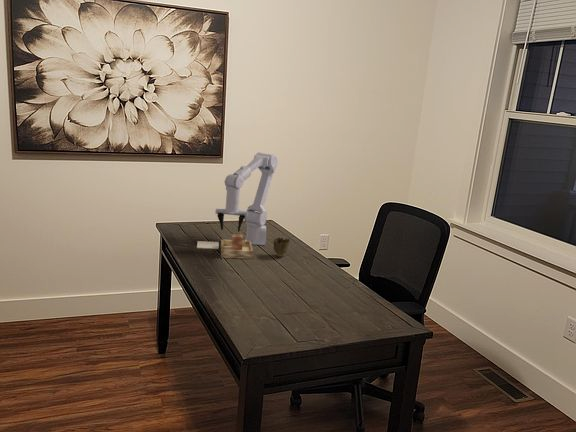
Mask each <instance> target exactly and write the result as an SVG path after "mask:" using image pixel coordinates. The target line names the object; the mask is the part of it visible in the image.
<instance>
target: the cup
mask: <svg viewBox="0 0 576 432" xmlns="http://www.w3.org/2000/svg"><path fill="white" fill-rule="evenodd" d="M289 246H290V238H289V239H288V238H285V239H284V238H283V237H275V238H273V250H274V252H275V253H276V256H277V257H278V258H284V257H285V254H286V253H287V252H288V250H289Z"/></svg>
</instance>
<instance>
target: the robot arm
mask: <svg viewBox="0 0 576 432" xmlns="http://www.w3.org/2000/svg"><path fill="white" fill-rule="evenodd" d="M278 163H279V162H278V158H277V156H276V155H275V154H270V153H263V152H261V151H260V152H257V153H255V154H254V157H253V159H252V160H251V161H250V162H249V163H248V164H247V165H242V166H241V165H240V168H239V169H237V170H236V171H235V172H233V174H228V175H227V176H226V177H225V180H224V185H225V190H226V197H225V201H226V202H225V208H216V209H215V212H214V213H215V215H216V214H217V219H218V221H219V224H220V225H219V226H220V230H221V231H223V230H224V219H225V215H229V216H237V217H238V226H237V232H239V233H240V230H241V227H242V224H243V222H245V224H246V226H247V227H246V238H245V239H244V241H251V243H252V245H254V246H255V245H258V246H259V245H260V246H265V245H266V240H267V226H266V225H265V224H266V222H267V215H268V211H267V210H266V208H265V203H266V201H267V196H268V193H269V190H270V185H271V182H272V179H273V175H274V173H276V168H277V165H278ZM256 169H258V170H259V172H261V177H260V179H259V183H258V187H257V190H256V192H255V193H256V194H255V197H254V200H253V203H252V204H251V205H249V206H248V207H247V209H246V211H244V210H239V206H240V205H239V204H240V191H241V190H240V189H241V188H242V187H243V186H244V183H245V181H246V180H248V179H249V178H250V177H251V176H252V173H253V172H254V171H256Z"/></svg>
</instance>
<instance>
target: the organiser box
mask: <svg viewBox="0 0 576 432" xmlns="http://www.w3.org/2000/svg"><path fill="white" fill-rule="evenodd" d="M220 241H221V242H220V258H227V259H228V258H229V259H246V260H247V259H250V260H251V259H254V249H253V244H252V243H251V241H245V239H243V245H242V250H232V239H220Z"/></svg>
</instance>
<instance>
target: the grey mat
mask: <svg viewBox="0 0 576 432" xmlns="http://www.w3.org/2000/svg"><path fill="white" fill-rule="evenodd" d="M219 244H220V242H219V241H203V240H202V241H201V240H200V241H199V240H197V244H196V248H197V249H203V250H204V249H207V250H208V249H210V250H220V249H219V248H220V247H219V246H220V245H219Z"/></svg>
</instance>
